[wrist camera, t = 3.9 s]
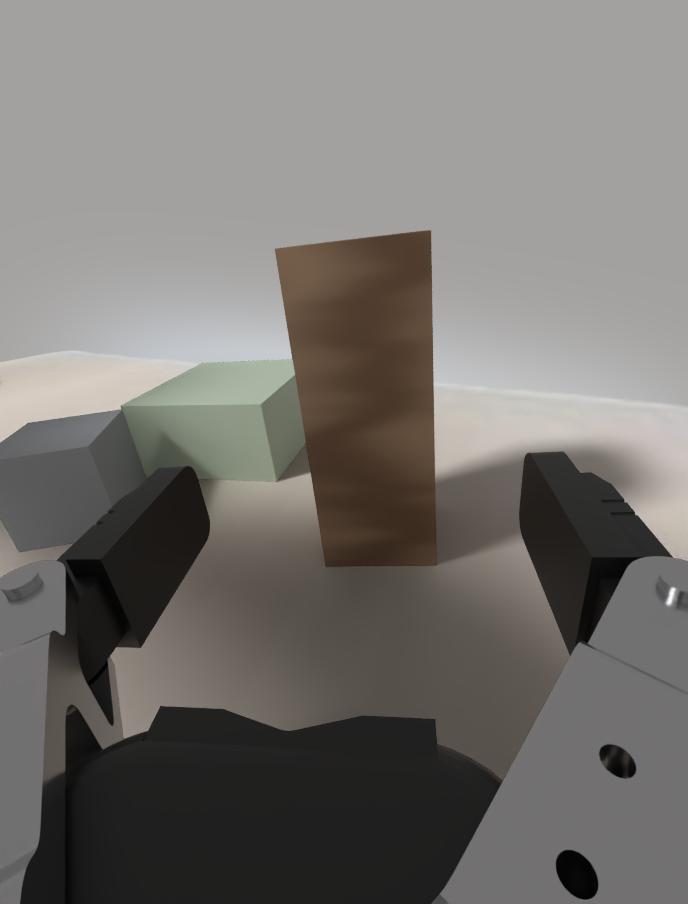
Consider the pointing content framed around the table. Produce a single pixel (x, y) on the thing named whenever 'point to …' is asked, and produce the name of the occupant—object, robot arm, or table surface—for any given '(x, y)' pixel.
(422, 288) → the walnut post
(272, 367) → the sage block
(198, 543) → the robot arm
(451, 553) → the table surface
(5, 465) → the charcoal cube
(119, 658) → the table surface
